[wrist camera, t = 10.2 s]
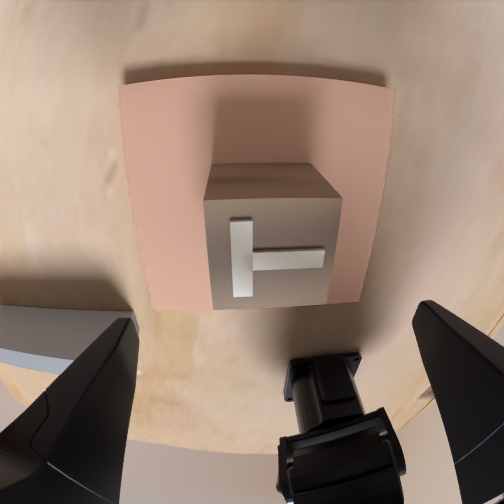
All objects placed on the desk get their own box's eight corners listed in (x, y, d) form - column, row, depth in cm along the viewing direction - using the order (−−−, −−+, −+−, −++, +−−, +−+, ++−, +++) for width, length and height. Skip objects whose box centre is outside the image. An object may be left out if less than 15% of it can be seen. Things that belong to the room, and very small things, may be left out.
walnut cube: (303, 247, 17) (326, 306, 13) (216, 250, 17) (212, 312, 13) (310, 163, 15) (344, 199, 10) (211, 163, 15) (202, 202, 10)
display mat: (354, 292, 21) (358, 301, 20) (156, 300, 20) (153, 310, 19) (386, 88, 14) (394, 89, 13) (125, 85, 13) (118, 85, 12)
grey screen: (139, 330, 22) (126, 383, 17) (10, 320, 21) (-12, 359, 16) (133, 311, 21) (116, 364, 16) (1, 304, 20) (-24, 342, 15)
